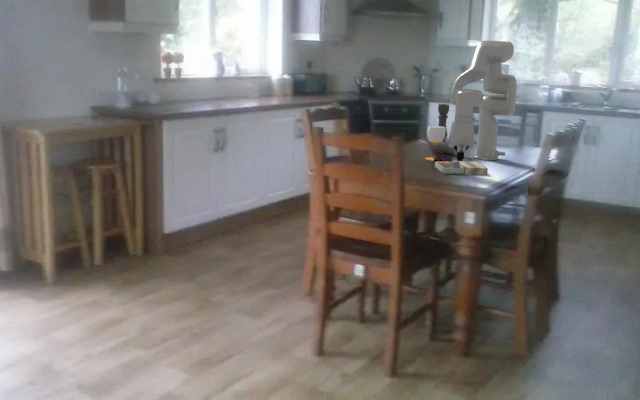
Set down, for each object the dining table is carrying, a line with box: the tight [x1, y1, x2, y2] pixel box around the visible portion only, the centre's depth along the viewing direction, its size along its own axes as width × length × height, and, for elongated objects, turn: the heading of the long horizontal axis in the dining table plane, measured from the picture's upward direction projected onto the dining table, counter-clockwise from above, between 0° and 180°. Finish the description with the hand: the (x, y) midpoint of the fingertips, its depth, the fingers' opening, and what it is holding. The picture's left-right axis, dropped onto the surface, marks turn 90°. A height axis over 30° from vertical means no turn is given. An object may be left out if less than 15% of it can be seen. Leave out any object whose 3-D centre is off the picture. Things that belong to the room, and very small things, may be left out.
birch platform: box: [459, 160, 488, 176], centre depth 305 cm, size 10×16×3 cm, turn 3°
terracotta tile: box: [437, 160, 451, 168], centre depth 309 cm, size 4×4×2 cm
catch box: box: [434, 161, 465, 175], centre depth 305 cm, size 10×16×2 cm, turn 3°
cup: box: [424, 125, 447, 162], centre depth 330 cm, size 9×9×16 cm
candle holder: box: [437, 103, 450, 143], centre depth 352 cm, size 6×6×25 cm
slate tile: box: [450, 159, 460, 168], centre depth 300 cm, size 4×4×2 cm
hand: (459, 160), depth 300 cm, fingers closed
